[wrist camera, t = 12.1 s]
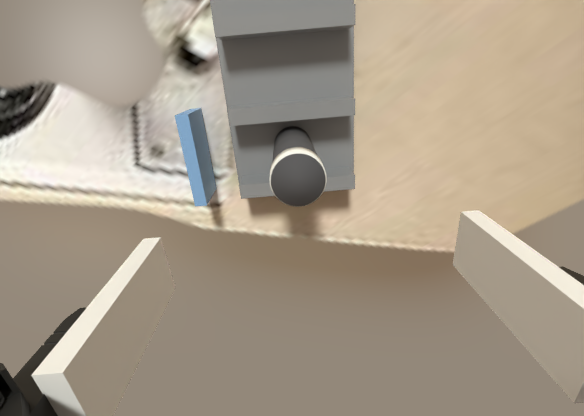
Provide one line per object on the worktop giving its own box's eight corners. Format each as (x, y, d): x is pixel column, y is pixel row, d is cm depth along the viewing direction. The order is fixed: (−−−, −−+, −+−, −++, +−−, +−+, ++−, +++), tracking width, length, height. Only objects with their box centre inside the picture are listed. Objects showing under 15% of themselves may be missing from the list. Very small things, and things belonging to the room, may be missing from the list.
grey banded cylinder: (310, 123, 33) (326, 150, 22) (312, 162, 34) (328, 205, 23) (271, 126, 33) (266, 155, 22) (275, 165, 34) (272, 209, 23)
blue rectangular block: (201, 108, 33) (187, 114, 28) (216, 188, 36) (207, 205, 32) (189, 109, 33) (174, 115, 28) (206, 189, 36) (195, 206, 32)
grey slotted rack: (351, -99, 26) (362, -127, 23) (351, 180, 36) (359, 192, 33) (198, -85, 26) (185, -110, 23) (241, 190, 36) (237, 203, 33)
